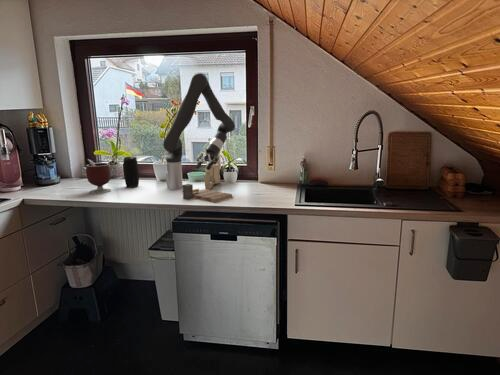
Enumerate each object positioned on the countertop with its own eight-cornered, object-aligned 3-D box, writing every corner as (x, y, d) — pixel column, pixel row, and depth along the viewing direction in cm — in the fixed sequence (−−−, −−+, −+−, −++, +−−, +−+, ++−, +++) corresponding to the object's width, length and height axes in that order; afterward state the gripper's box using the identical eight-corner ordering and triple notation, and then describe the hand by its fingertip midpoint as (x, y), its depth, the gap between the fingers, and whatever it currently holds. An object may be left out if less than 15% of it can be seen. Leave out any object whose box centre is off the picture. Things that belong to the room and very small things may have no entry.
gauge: (183, 198, 203) (182, 184, 202) (196, 195, 211) (195, 182, 209) (187, 199, 201) (187, 185, 199) (200, 196, 208) (200, 182, 207)
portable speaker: (125, 185, 240) (123, 156, 236) (140, 184, 242) (138, 156, 238) (124, 188, 232) (121, 158, 228) (139, 187, 234) (137, 157, 230)
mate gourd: (117, 190, 226) (114, 159, 222) (98, 195, 214) (95, 162, 210) (100, 188, 233) (97, 157, 229) (81, 192, 222) (78, 160, 217)
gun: (209, 190, 224) (209, 166, 222) (204, 189, 225) (203, 166, 223) (220, 185, 248) (220, 163, 246) (215, 185, 249) (215, 163, 247)
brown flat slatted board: (187, 196, 207) (187, 193, 207) (205, 192, 218) (205, 189, 217) (215, 202, 194) (215, 199, 193) (232, 197, 204) (232, 194, 204)
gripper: (203, 142, 217) (190, 164, 211) (220, 143, 208) (207, 165, 202) (209, 150, 222) (197, 171, 216) (226, 151, 213) (214, 173, 207)
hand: (202, 168), depth 209 cm, fingers open, 8 cm apart
